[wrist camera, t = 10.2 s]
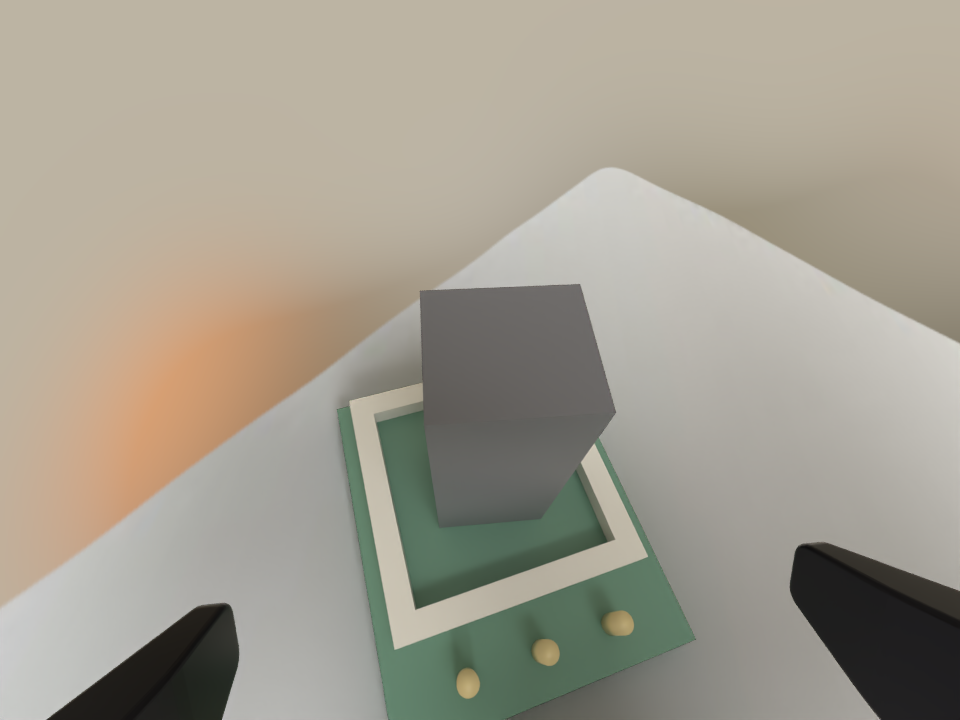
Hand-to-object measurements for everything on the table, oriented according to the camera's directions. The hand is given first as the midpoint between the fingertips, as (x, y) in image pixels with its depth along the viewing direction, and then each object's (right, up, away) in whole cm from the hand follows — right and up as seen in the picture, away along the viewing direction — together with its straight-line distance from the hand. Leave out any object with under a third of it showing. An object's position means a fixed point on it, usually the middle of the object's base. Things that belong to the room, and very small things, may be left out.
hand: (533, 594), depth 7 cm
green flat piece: (0, -4, +14) cm, 14 cm away
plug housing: (-1, -2, +14) cm, 14 cm away
